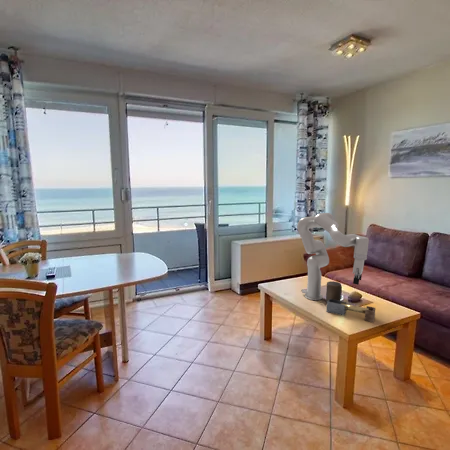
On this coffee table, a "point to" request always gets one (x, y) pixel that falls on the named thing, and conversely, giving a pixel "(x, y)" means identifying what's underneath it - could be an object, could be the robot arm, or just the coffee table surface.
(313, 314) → the coffee table surface
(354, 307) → the tube
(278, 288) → the coffee table surface
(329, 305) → the grey rectangular block
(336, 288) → the pillar candle
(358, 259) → the robot arm
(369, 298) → the coffee table surface
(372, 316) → the socket
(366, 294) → the coffee table surface
